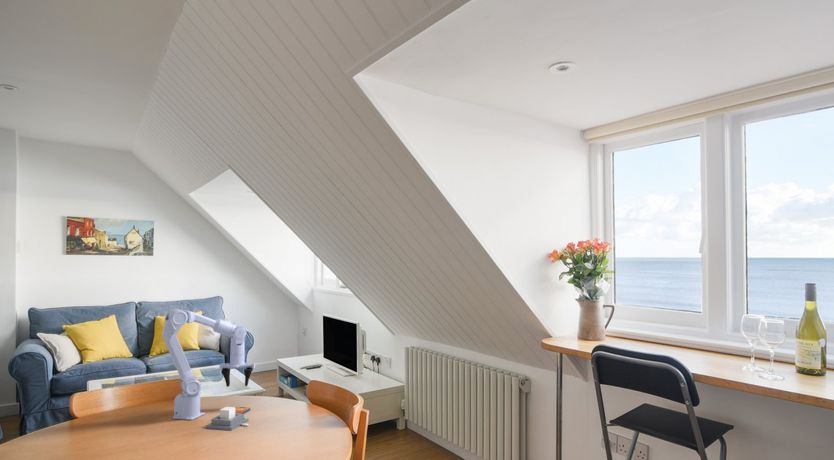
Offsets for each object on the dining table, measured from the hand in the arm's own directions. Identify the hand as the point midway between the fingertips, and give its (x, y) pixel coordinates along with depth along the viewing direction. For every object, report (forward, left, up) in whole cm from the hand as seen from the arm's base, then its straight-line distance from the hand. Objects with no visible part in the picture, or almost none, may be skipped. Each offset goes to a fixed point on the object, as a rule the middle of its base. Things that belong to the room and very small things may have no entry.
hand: (237, 385), depth 211 cm
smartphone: (+4, -8, -10) cm, 13 cm away
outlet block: (+11, -19, -9) cm, 24 cm away
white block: (+9, -19, -8) cm, 23 cm away
